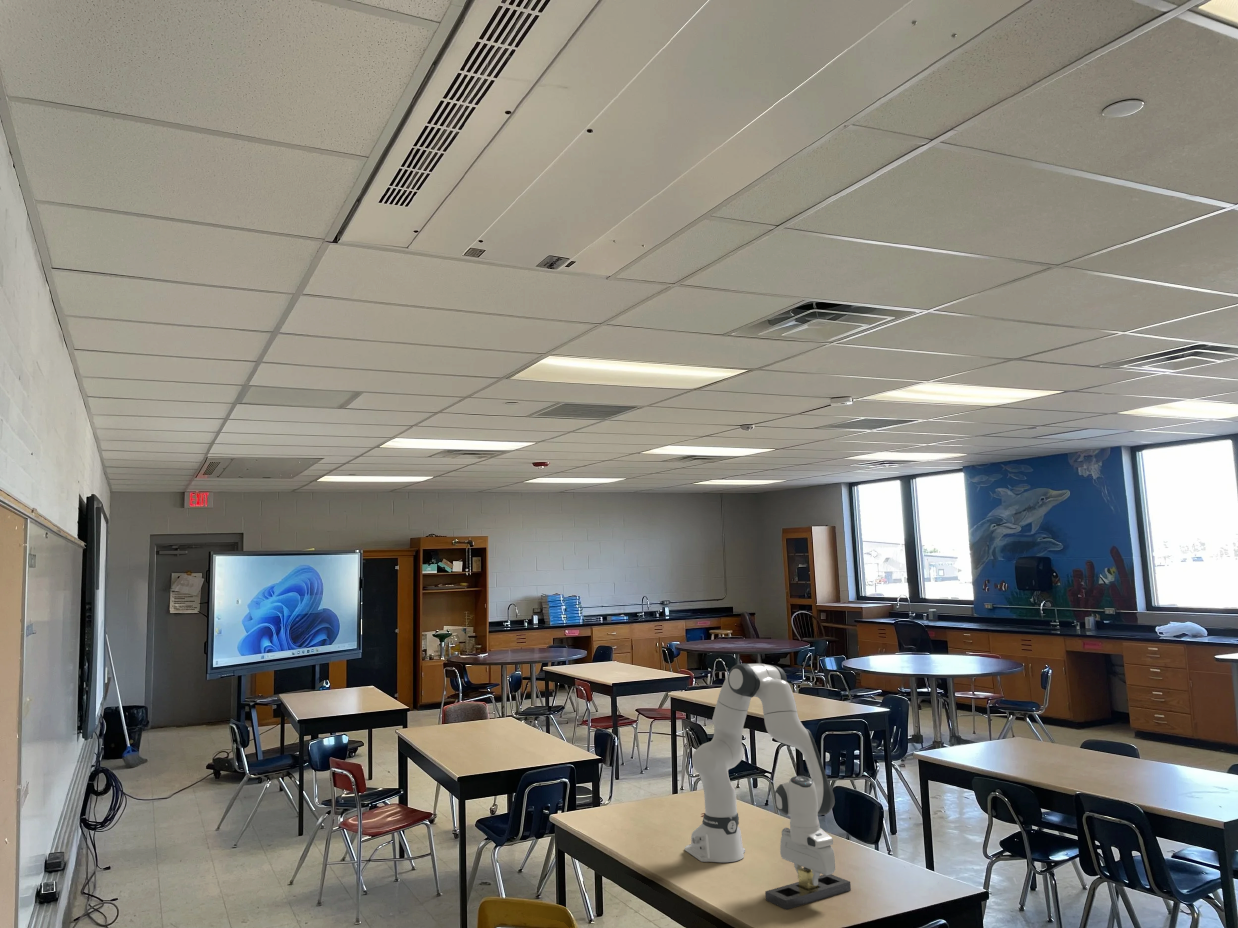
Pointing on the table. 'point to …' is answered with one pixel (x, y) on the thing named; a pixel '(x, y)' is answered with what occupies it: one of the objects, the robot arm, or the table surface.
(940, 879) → the table surface
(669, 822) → the table surface
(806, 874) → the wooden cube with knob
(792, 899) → the grey flat slotted block
